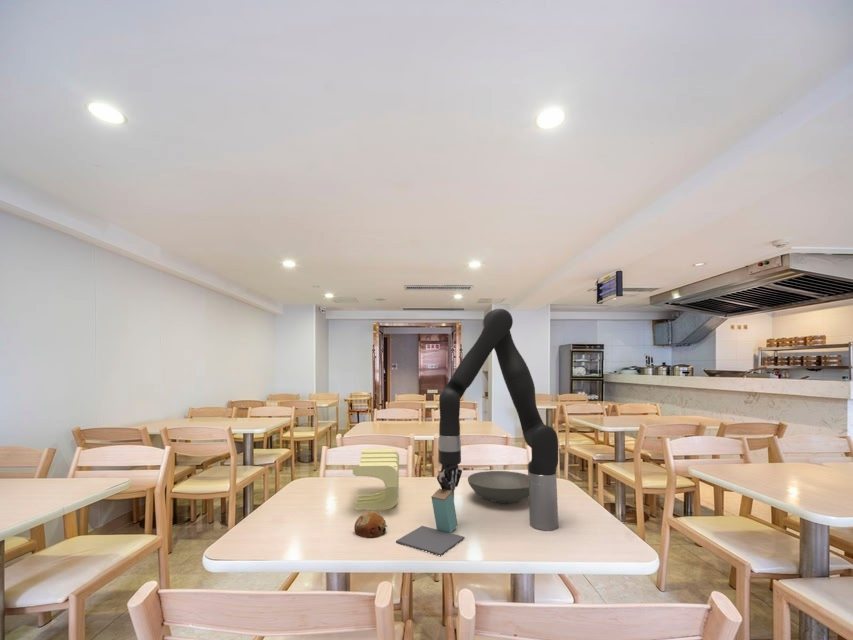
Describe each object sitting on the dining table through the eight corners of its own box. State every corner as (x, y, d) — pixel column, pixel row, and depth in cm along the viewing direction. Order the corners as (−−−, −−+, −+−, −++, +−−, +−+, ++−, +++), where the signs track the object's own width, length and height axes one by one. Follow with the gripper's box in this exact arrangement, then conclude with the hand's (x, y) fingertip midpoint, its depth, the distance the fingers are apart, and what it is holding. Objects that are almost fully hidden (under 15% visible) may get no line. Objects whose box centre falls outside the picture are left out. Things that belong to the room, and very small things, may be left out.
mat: (422, 527, 135) (422, 525, 135) (464, 538, 126) (464, 536, 127) (396, 542, 124) (396, 540, 124) (440, 556, 115) (440, 554, 115)
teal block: (444, 521, 137) (439, 488, 135) (457, 524, 134) (452, 490, 133) (437, 530, 133) (431, 496, 131) (450, 534, 130) (444, 499, 129)
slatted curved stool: (397, 517, 145) (397, 465, 147) (352, 518, 144) (352, 466, 146) (399, 491, 174) (399, 448, 176) (361, 492, 174) (362, 449, 176)
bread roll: (375, 536, 138) (368, 511, 140) (395, 529, 132) (388, 504, 135) (352, 546, 130) (346, 520, 133) (372, 539, 125) (365, 512, 128)
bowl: (547, 512, 149) (547, 488, 150) (471, 512, 150) (470, 488, 151) (530, 489, 176) (529, 469, 177) (465, 489, 177) (465, 469, 178)
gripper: (448, 453, 131) (449, 509, 129) (468, 446, 141) (469, 498, 140) (429, 450, 135) (429, 505, 133) (450, 444, 146) (450, 494, 144)
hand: (450, 501), depth 136 cm, fingers closed
